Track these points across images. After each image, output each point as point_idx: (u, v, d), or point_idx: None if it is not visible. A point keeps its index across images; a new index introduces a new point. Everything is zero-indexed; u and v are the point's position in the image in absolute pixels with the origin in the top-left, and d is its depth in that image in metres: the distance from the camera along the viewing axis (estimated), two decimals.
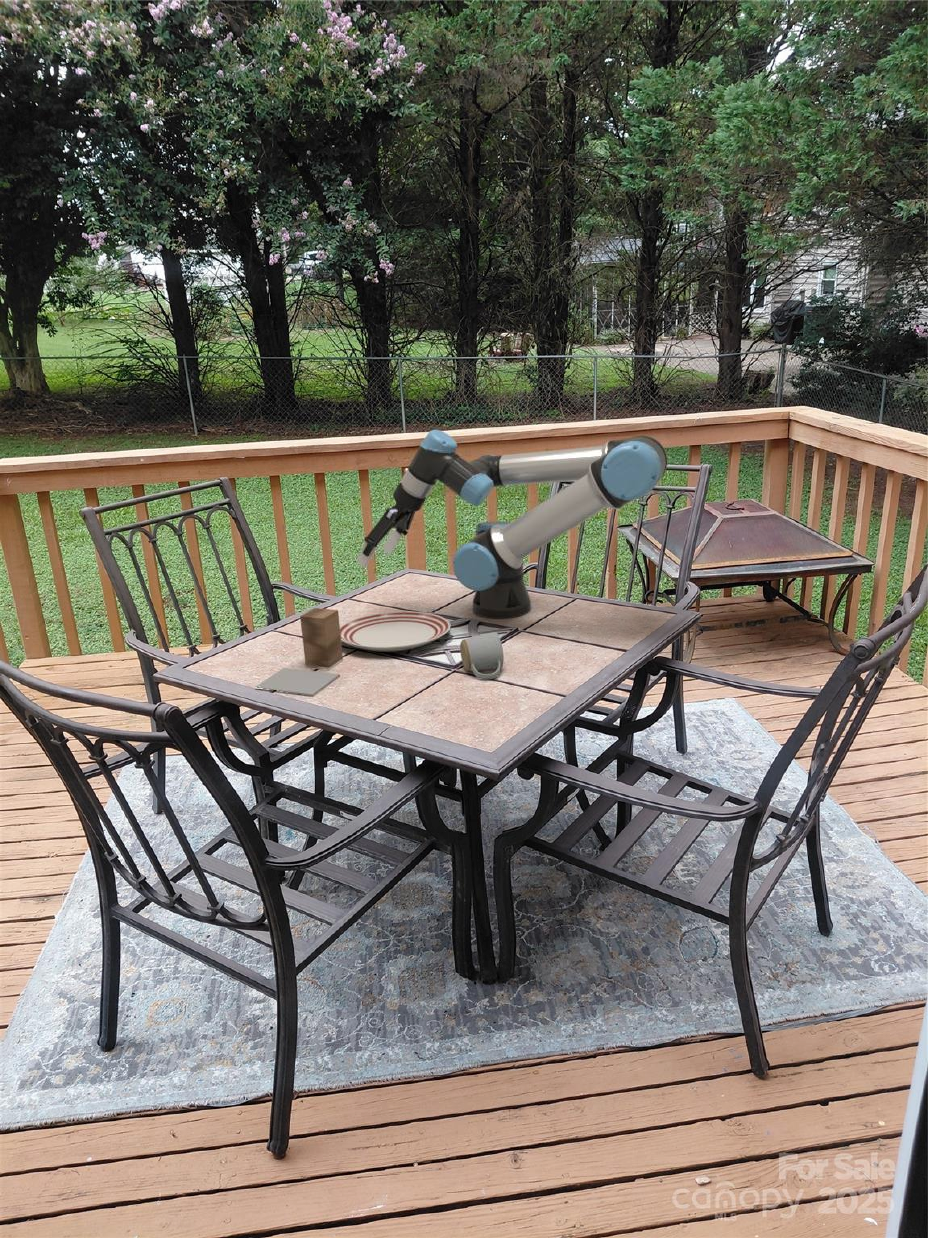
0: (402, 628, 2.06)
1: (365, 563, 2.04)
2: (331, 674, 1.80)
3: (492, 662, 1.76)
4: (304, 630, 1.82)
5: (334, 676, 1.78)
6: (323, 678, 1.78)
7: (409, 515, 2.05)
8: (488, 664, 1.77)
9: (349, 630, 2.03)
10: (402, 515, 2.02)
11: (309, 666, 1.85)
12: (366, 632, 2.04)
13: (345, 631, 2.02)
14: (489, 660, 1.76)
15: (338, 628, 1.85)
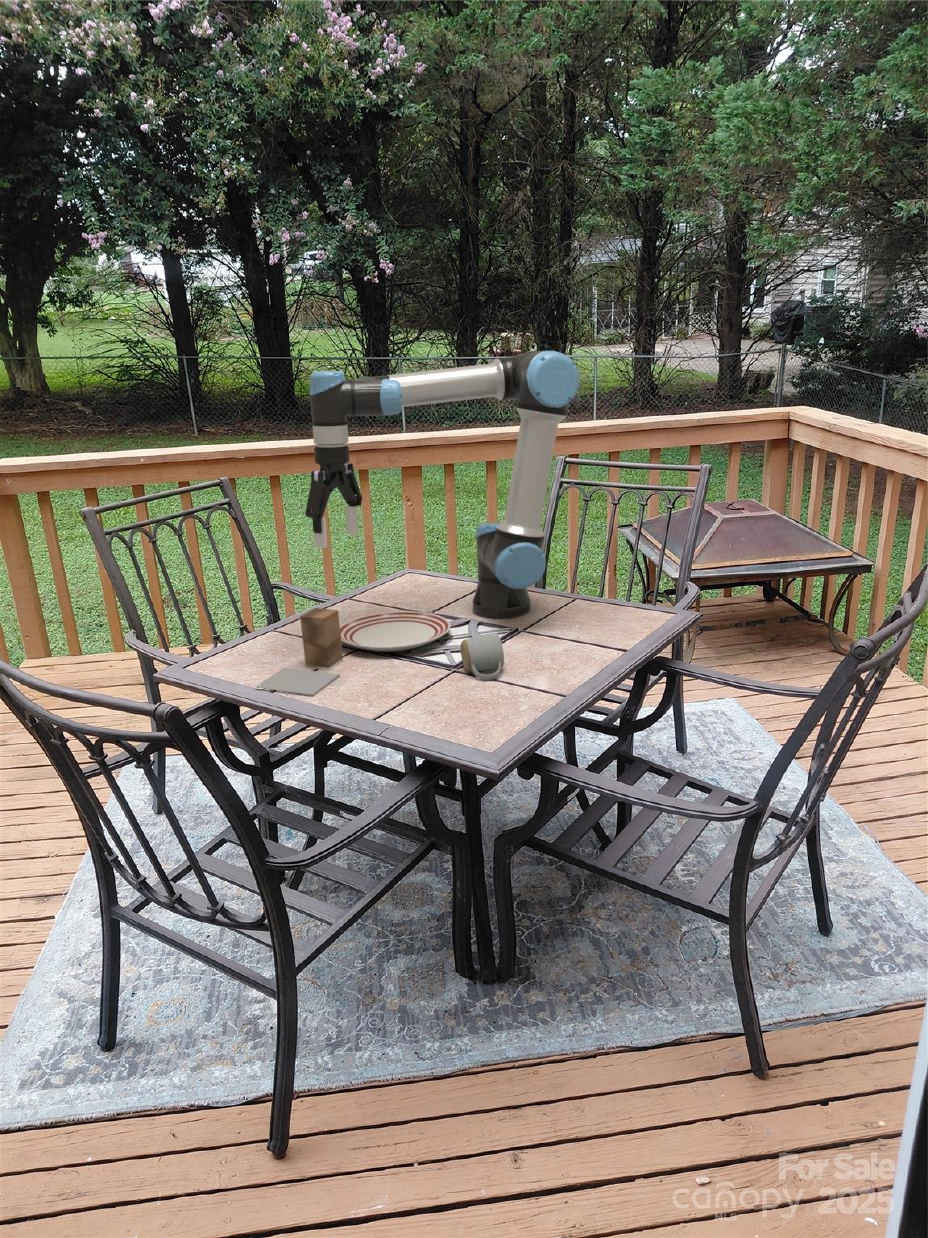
0: (402, 628, 2.06)
1: (323, 542, 1.82)
2: (331, 674, 1.80)
3: (492, 663, 1.76)
4: (304, 630, 1.82)
5: (334, 676, 1.78)
6: (323, 678, 1.78)
7: (344, 475, 1.85)
8: (488, 665, 1.76)
9: (349, 630, 2.03)
10: (334, 475, 1.82)
11: (309, 666, 1.85)
12: (366, 632, 2.04)
13: (345, 631, 2.02)
14: (489, 661, 1.76)
15: (338, 628, 1.85)
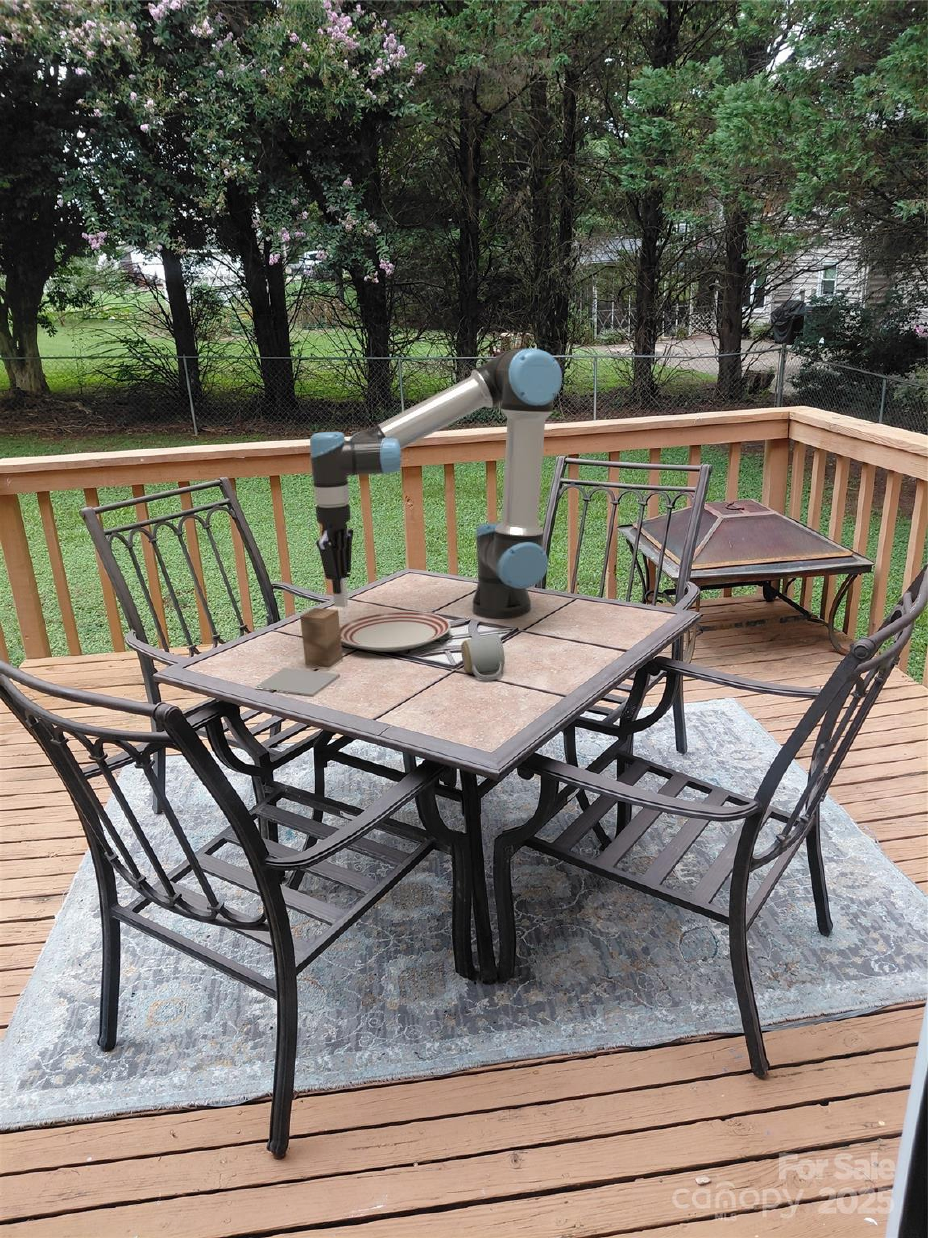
0: (402, 628, 2.06)
1: (343, 602, 1.91)
2: (331, 674, 1.80)
3: (493, 663, 1.76)
4: (304, 630, 1.82)
5: (334, 676, 1.78)
6: (323, 678, 1.78)
7: (345, 533, 1.87)
8: (489, 665, 1.76)
9: (349, 630, 2.03)
10: (336, 536, 1.85)
11: (309, 666, 1.85)
12: (366, 632, 2.04)
13: (345, 631, 2.02)
14: (490, 661, 1.75)
15: (338, 628, 1.85)
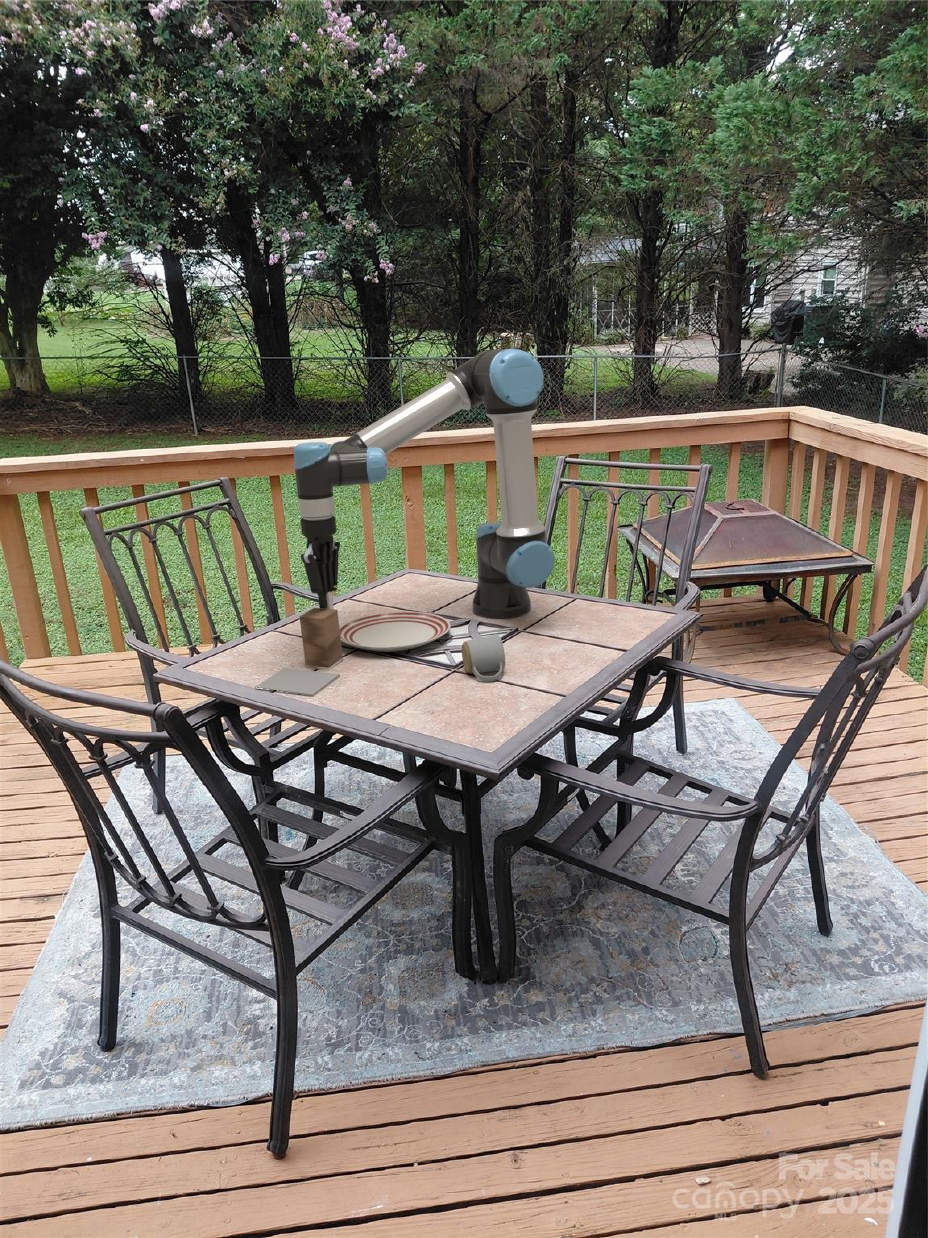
0: (402, 628, 2.06)
1: None
2: (331, 674, 1.80)
3: (494, 664, 1.75)
4: (304, 630, 1.82)
5: (334, 676, 1.78)
6: (323, 678, 1.78)
7: (331, 546, 1.82)
8: (490, 666, 1.75)
9: (349, 630, 2.03)
10: (321, 549, 1.80)
11: (309, 666, 1.85)
12: (366, 632, 2.04)
13: (345, 631, 2.02)
14: (491, 662, 1.75)
15: (338, 628, 1.85)
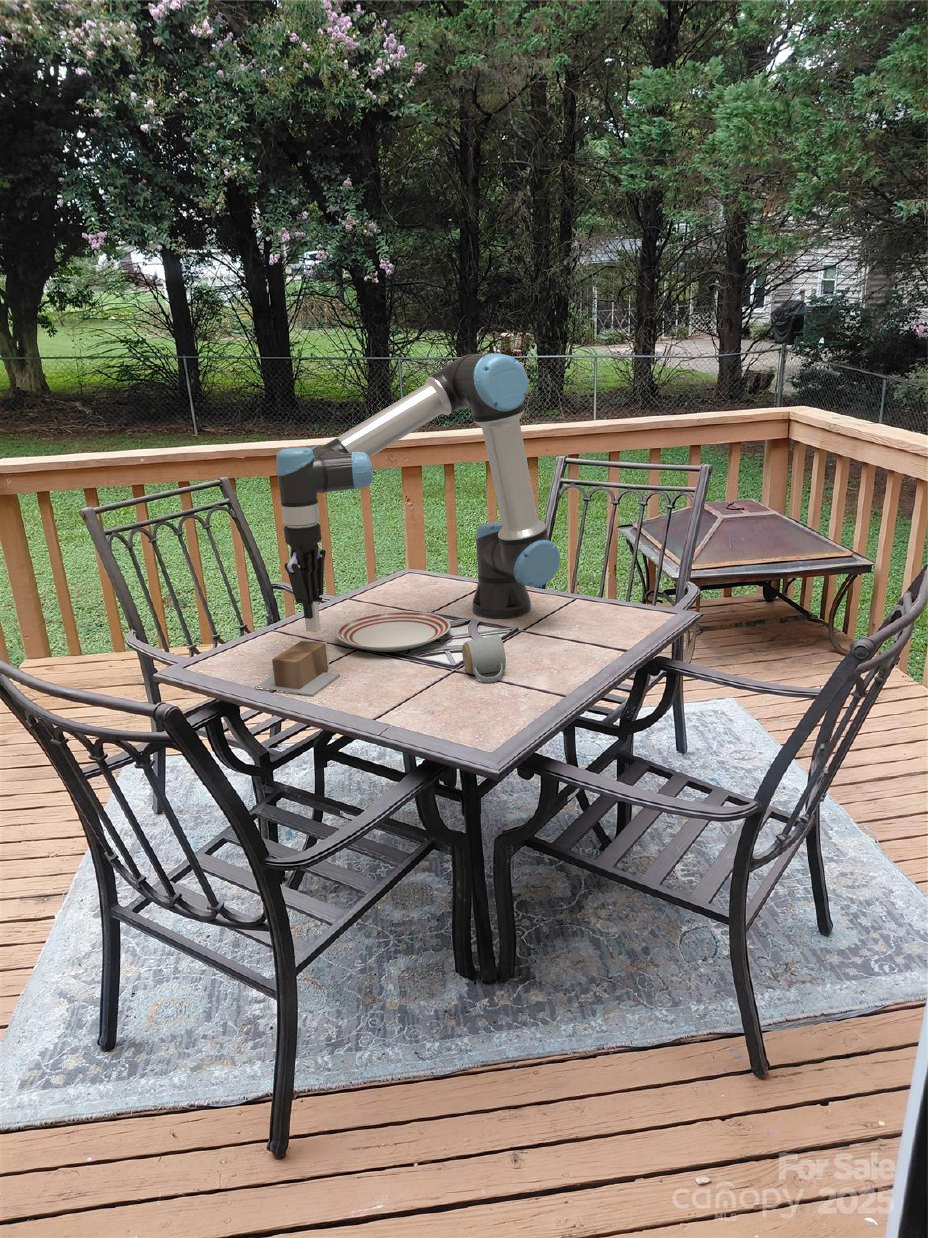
0: (402, 628, 2.06)
1: (315, 627, 1.80)
2: (331, 674, 1.80)
3: (494, 665, 1.75)
4: None
5: (334, 676, 1.78)
6: (323, 678, 1.78)
7: (316, 554, 1.76)
8: (490, 667, 1.75)
9: (349, 630, 2.03)
10: (306, 558, 1.74)
11: None
12: (366, 632, 2.04)
13: (345, 631, 2.02)
14: (491, 663, 1.74)
15: (307, 657, 1.75)
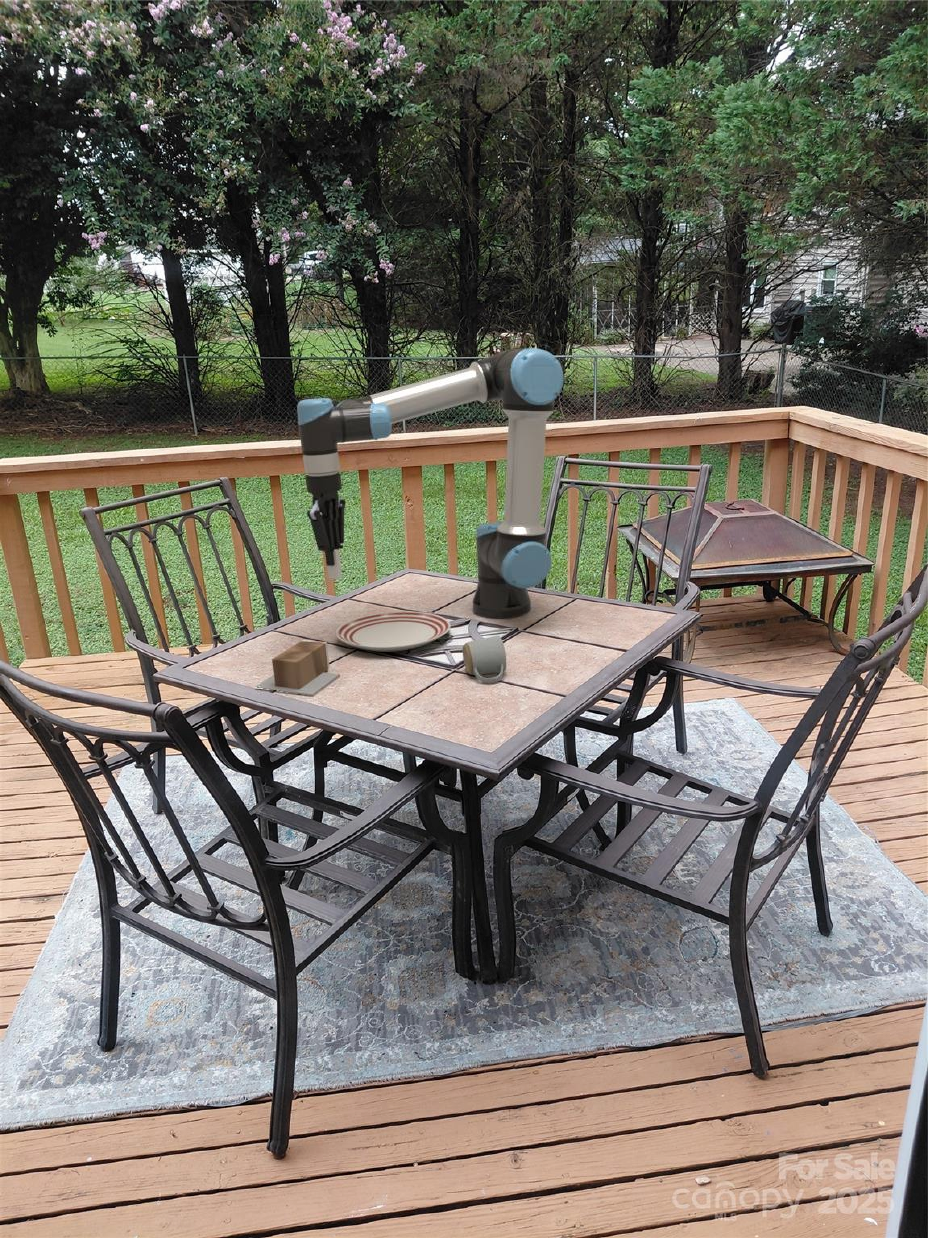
0: (402, 628, 2.06)
1: (336, 574, 1.86)
2: (331, 674, 1.80)
3: (495, 666, 1.74)
4: None
5: (334, 676, 1.78)
6: (323, 678, 1.78)
7: (337, 503, 1.82)
8: (491, 668, 1.75)
9: (349, 630, 2.03)
10: (327, 505, 1.80)
11: None
12: (366, 632, 2.04)
13: (345, 631, 2.02)
14: (492, 664, 1.74)
15: (307, 657, 1.75)
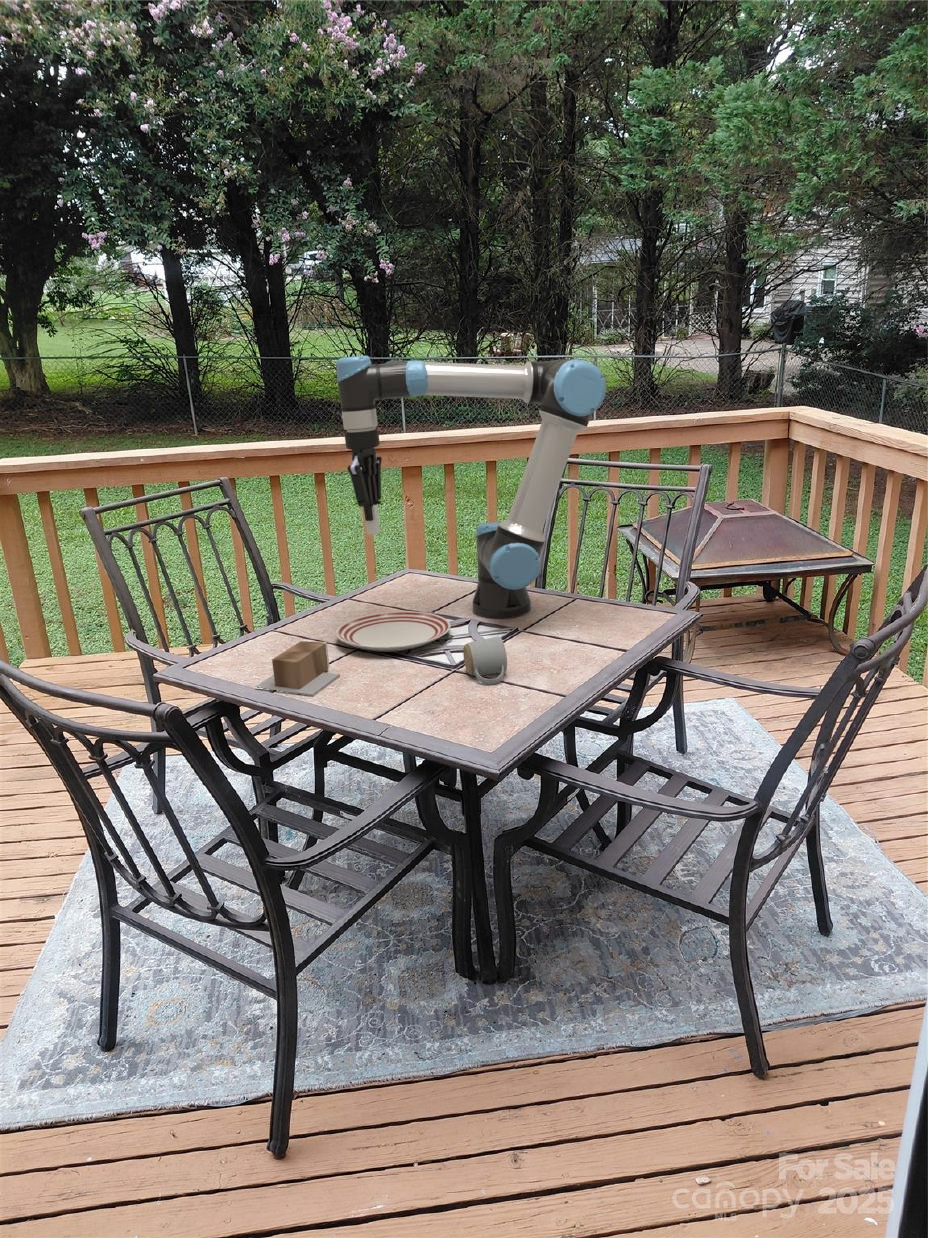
0: (402, 628, 2.06)
1: (375, 529, 1.91)
2: (331, 674, 1.80)
3: (495, 667, 1.74)
4: None
5: (334, 676, 1.78)
6: (323, 678, 1.78)
7: (375, 459, 1.88)
8: (491, 669, 1.74)
9: (349, 630, 2.03)
10: (366, 461, 1.85)
11: None
12: (366, 632, 2.04)
13: (345, 631, 2.02)
14: (492, 665, 1.74)
15: (307, 657, 1.75)
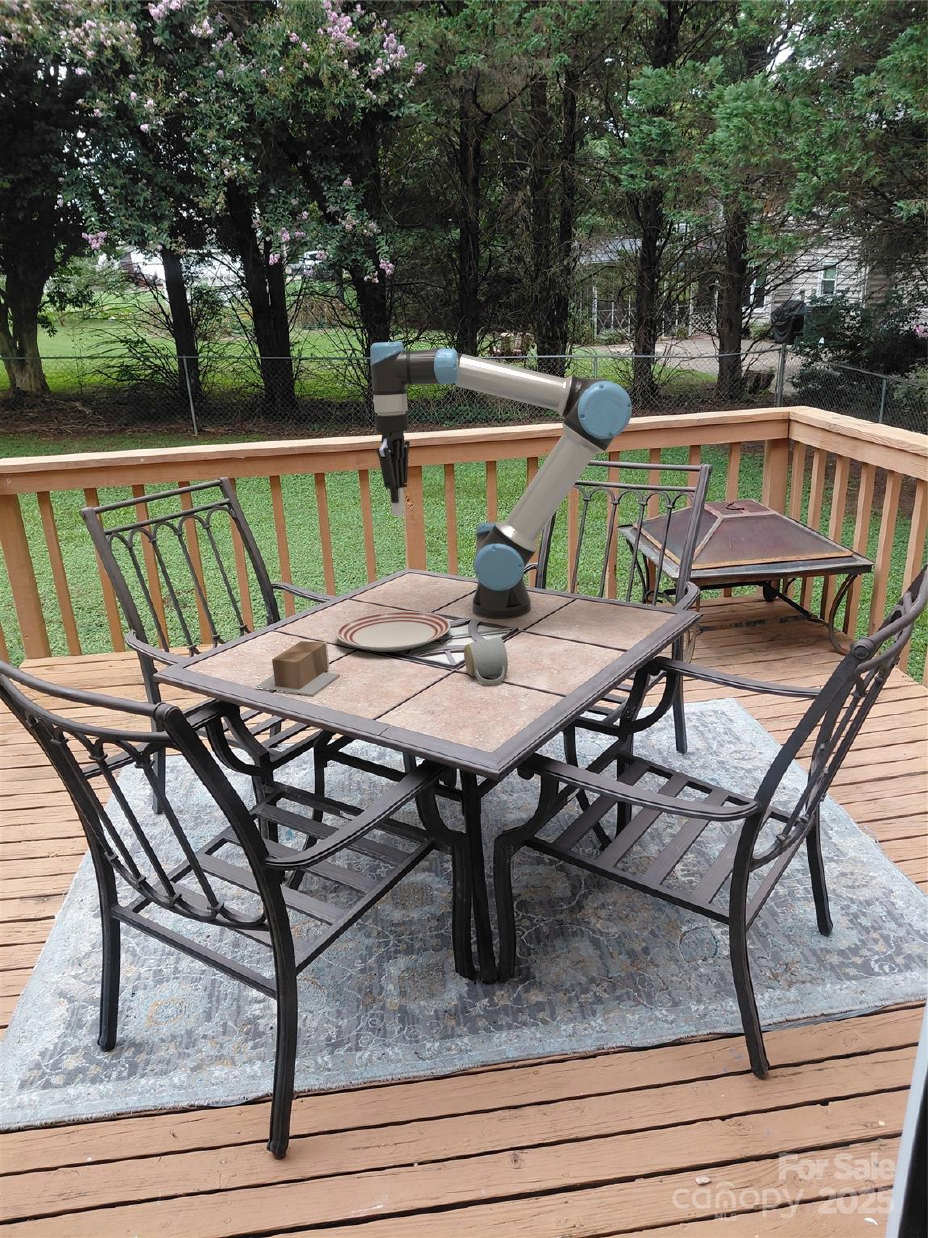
0: (402, 628, 2.06)
1: (400, 511, 1.96)
2: (331, 674, 1.80)
3: (496, 667, 1.73)
4: None
5: (334, 676, 1.78)
6: (323, 678, 1.78)
7: (403, 442, 1.93)
8: (492, 669, 1.74)
9: (349, 630, 2.03)
10: (395, 444, 1.90)
11: None
12: (366, 632, 2.04)
13: (345, 631, 2.02)
14: (493, 665, 1.73)
15: (307, 657, 1.75)
